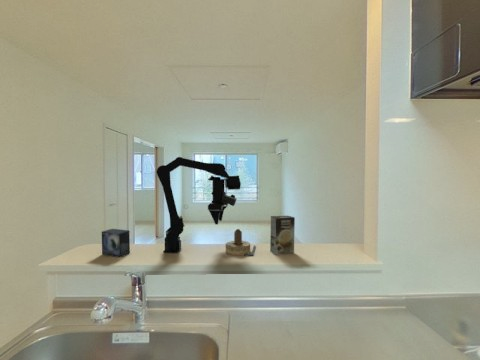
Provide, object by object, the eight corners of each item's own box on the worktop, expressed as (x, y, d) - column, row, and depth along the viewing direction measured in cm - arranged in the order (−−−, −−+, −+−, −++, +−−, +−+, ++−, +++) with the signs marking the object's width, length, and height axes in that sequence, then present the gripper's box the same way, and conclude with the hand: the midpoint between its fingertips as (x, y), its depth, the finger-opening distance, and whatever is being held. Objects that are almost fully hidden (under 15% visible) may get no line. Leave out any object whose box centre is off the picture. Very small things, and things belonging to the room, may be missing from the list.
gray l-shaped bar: (243, 255, 122) (243, 254, 122) (247, 246, 136) (247, 245, 136) (253, 255, 122) (253, 254, 122) (255, 246, 136) (255, 245, 136)
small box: (100, 255, 124) (100, 231, 123) (112, 251, 130) (112, 228, 129) (119, 257, 120) (118, 233, 119) (130, 253, 126) (130, 230, 125)
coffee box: (276, 255, 123) (276, 218, 122) (269, 251, 129) (270, 216, 128) (294, 253, 126) (294, 217, 125) (287, 249, 132) (288, 215, 131)
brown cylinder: (233, 252, 127) (233, 229, 127) (234, 250, 131) (234, 228, 130) (241, 252, 127) (241, 229, 127) (242, 250, 130) (242, 228, 130)
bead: (224, 254, 124) (223, 246, 124) (228, 247, 135) (228, 240, 135) (248, 255, 123) (248, 247, 123) (251, 248, 134) (251, 240, 134)
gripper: (232, 191, 124) (232, 226, 124) (237, 188, 142) (237, 219, 143) (207, 191, 125) (207, 226, 126) (216, 188, 144) (216, 219, 144)
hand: (218, 222), depth 135 cm, fingers open, 9 cm apart
